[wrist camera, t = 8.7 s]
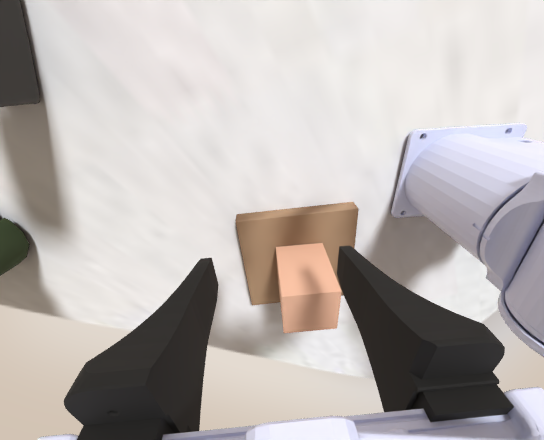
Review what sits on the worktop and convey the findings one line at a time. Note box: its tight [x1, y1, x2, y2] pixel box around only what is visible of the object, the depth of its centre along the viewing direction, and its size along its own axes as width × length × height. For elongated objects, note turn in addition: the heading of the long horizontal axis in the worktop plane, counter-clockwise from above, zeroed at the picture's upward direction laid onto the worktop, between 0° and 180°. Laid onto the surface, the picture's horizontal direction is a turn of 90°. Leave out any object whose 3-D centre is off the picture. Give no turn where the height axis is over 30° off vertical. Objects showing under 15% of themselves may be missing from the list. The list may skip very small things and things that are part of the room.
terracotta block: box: [276, 243, 342, 333], centre depth 22 cm, size 4×4×6 cm
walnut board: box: [236, 202, 358, 305], centre depth 25 cm, size 11×11×2 cm
